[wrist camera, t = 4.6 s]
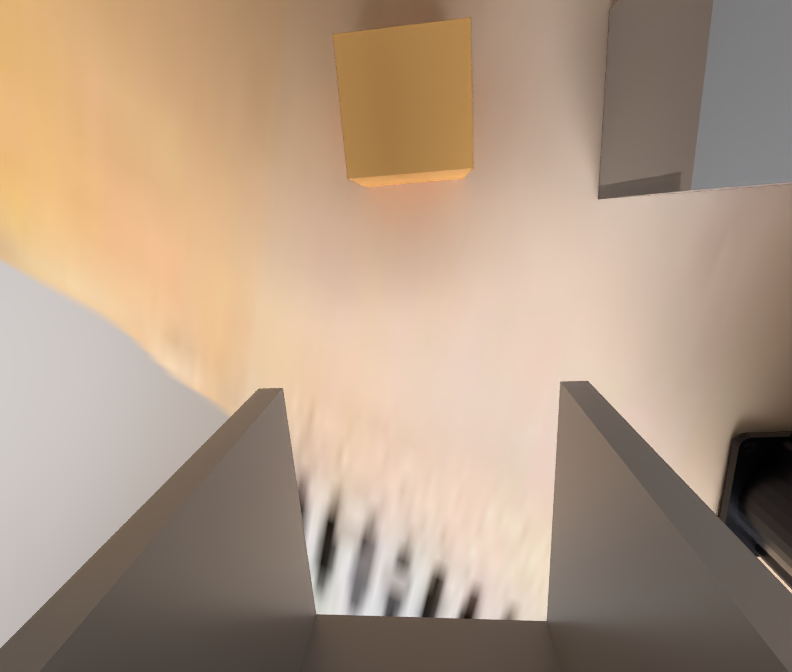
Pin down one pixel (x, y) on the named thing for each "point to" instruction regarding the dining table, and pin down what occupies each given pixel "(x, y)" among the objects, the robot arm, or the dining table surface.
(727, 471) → the robot arm
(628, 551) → the hiding cup
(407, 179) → the orange block
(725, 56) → the grey cube box
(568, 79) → the dining table surface
